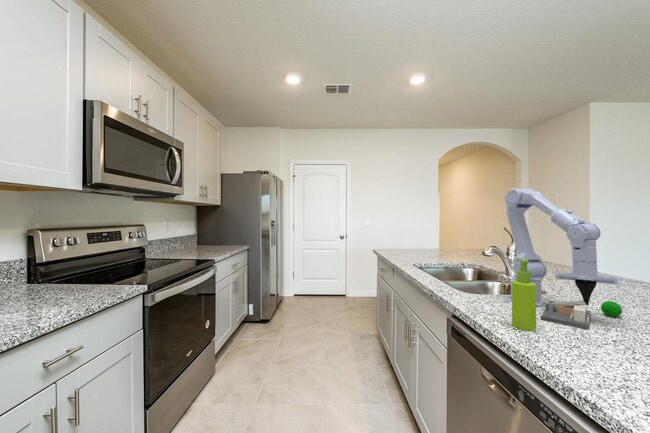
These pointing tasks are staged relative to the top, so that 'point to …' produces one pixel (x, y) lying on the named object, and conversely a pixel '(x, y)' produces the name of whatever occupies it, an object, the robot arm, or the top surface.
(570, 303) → the grey flat bar
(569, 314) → the mount board
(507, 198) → the robot arm
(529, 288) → the soap dispenser
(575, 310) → the latch
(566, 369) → the top surface
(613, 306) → the polyhedron
